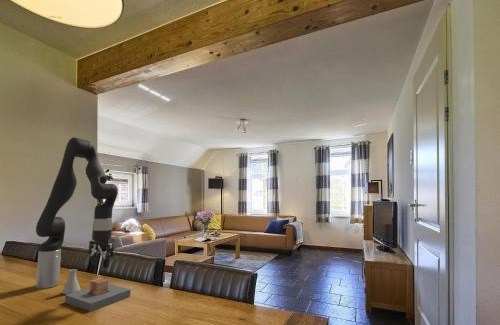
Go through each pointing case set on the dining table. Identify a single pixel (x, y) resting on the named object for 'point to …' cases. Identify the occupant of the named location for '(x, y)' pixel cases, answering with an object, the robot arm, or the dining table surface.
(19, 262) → the dining table surface
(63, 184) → the robot arm
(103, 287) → the terracotta block
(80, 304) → the charcoal base
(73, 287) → the flask
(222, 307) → the dining table surface
